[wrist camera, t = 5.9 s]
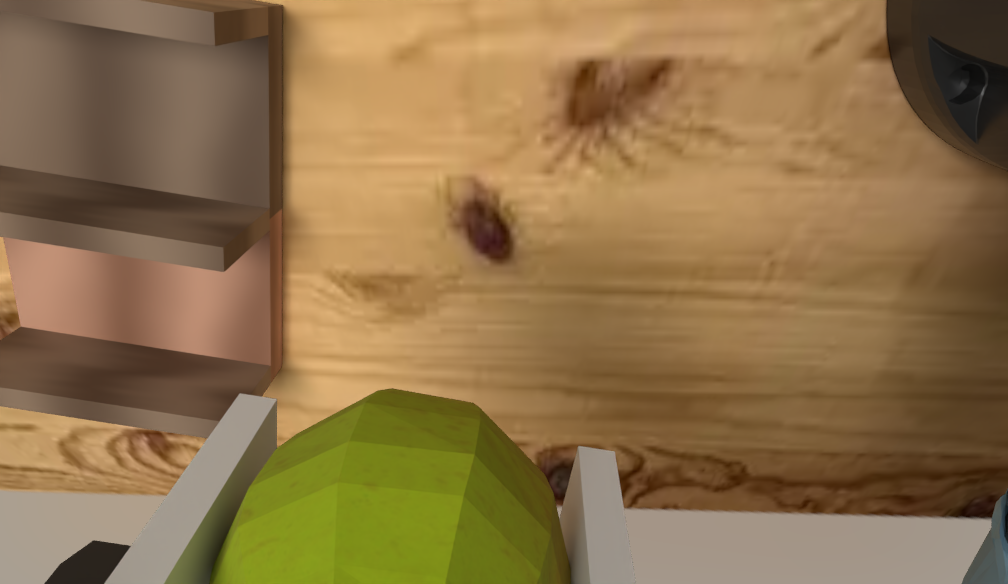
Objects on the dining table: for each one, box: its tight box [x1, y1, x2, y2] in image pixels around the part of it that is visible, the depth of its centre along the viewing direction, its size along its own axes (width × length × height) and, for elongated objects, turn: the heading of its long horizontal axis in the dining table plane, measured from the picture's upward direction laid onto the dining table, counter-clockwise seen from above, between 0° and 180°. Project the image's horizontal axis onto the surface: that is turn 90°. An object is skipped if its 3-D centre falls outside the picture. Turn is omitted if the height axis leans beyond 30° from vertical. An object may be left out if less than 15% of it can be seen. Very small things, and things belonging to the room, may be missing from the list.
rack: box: [0, 0, 282, 438], centre depth 27 cm, size 12×17×6 cm
